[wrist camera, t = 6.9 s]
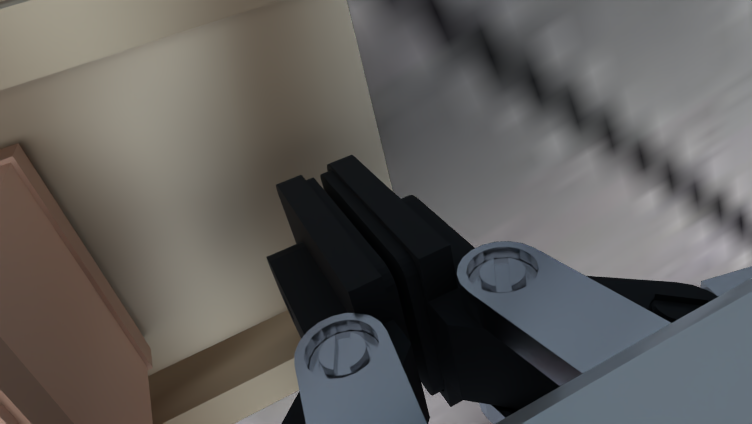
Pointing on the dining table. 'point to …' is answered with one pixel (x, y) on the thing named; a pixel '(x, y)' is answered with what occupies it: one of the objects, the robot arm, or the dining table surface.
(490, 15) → the dining table surface
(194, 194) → the bay
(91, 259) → the pink-tan cube
